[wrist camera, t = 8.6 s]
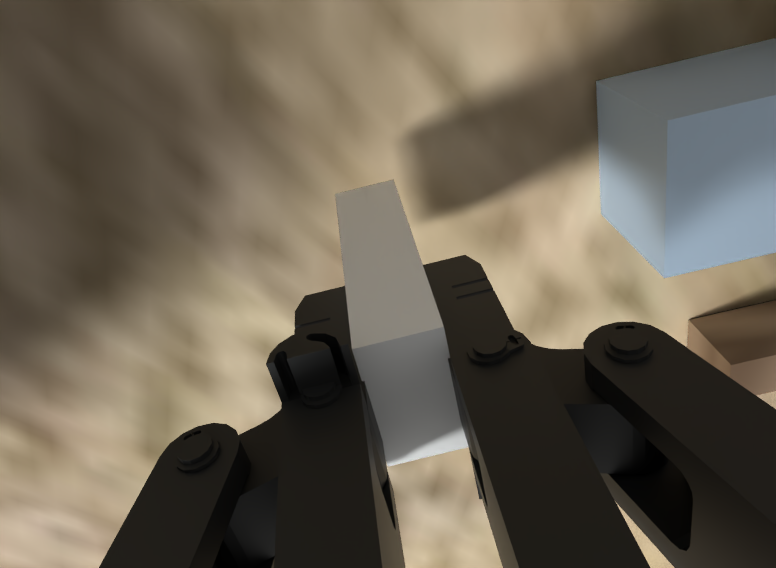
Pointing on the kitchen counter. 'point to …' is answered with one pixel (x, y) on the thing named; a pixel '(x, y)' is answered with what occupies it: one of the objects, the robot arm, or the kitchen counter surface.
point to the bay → (739, 344)
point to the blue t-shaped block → (692, 158)
